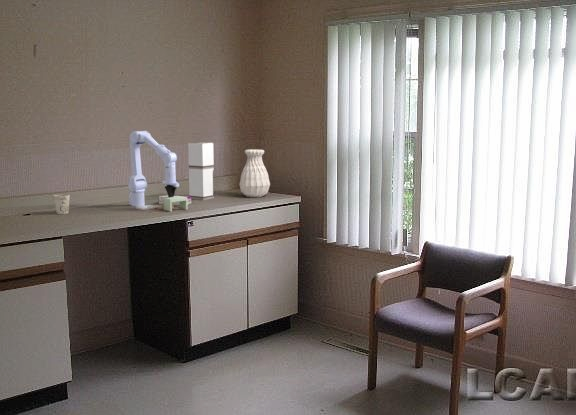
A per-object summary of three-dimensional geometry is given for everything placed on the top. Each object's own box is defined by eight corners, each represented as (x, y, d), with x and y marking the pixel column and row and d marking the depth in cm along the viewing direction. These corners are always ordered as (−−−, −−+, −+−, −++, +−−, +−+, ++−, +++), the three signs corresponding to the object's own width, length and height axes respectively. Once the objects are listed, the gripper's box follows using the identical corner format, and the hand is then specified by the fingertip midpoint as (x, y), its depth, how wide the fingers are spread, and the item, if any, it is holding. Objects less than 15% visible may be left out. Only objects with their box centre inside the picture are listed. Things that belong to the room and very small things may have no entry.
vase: (235, 198, 418) (234, 150, 413) (244, 193, 437) (244, 148, 432) (265, 199, 413) (265, 151, 409) (273, 194, 433) (273, 149, 428)
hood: (163, 209, 364) (163, 198, 363) (180, 207, 371) (180, 196, 370) (170, 211, 359) (170, 199, 358) (187, 209, 366) (187, 197, 365)
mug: (55, 214, 354) (54, 196, 352) (52, 211, 365) (51, 193, 363) (71, 213, 358) (70, 195, 356) (67, 210, 369) (67, 192, 367)
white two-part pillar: (214, 198, 417) (213, 142, 412) (203, 200, 408) (202, 143, 403) (200, 196, 423) (199, 142, 418) (189, 198, 415) (188, 143, 409)
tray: (136, 208, 370) (136, 206, 370) (148, 207, 375) (148, 205, 375) (143, 210, 364) (143, 208, 364) (155, 208, 369) (155, 206, 369)
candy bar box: (191, 204, 393) (165, 203, 396) (191, 196, 392) (166, 195, 396) (184, 205, 382) (158, 204, 385) (184, 197, 381) (158, 196, 385)
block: (162, 208, 371) (162, 199, 371) (169, 207, 374) (168, 198, 373) (166, 209, 368) (166, 200, 367) (173, 208, 371) (173, 199, 370)
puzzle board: (133, 209, 371) (133, 207, 370) (167, 205, 385) (166, 203, 385) (154, 215, 354) (153, 212, 353) (188, 210, 368) (188, 208, 368)
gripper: (183, 175, 362) (184, 199, 365) (169, 172, 373) (170, 196, 375) (172, 175, 358) (173, 200, 360) (158, 173, 369) (159, 197, 371)
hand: (171, 198), depth 367 cm, fingers closed
